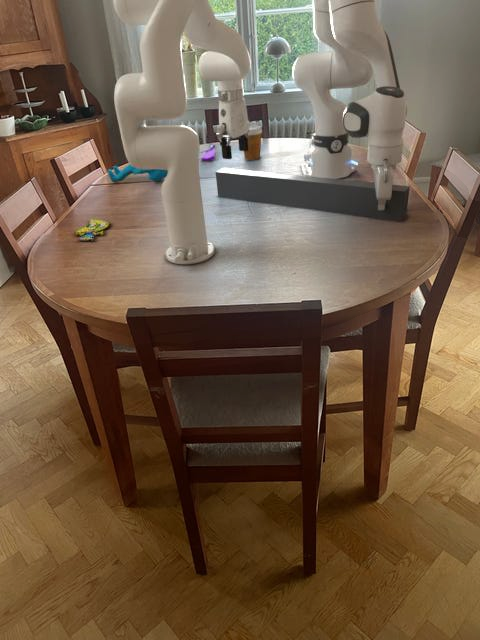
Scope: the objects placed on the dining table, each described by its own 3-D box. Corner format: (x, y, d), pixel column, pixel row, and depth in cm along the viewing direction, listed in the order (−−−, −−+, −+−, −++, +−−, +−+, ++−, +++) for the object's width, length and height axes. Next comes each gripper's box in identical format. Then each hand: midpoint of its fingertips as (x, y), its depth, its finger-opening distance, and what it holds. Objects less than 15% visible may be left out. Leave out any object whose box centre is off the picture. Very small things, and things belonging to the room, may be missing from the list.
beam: (218, 196, 162) (215, 171, 157) (225, 192, 165) (223, 167, 160) (401, 221, 132) (405, 191, 127) (406, 215, 135) (410, 186, 130)
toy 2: (118, 158, 191) (184, 137, 181) (129, 184, 196) (194, 165, 186) (99, 171, 177) (170, 149, 167) (111, 198, 182) (181, 178, 172)
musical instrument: (187, 168, 197) (231, 153, 201) (185, 163, 196) (230, 148, 200) (173, 159, 217) (213, 146, 221) (171, 155, 216) (212, 141, 220)
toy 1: (64, 237, 138) (89, 218, 150) (65, 240, 139) (90, 221, 151) (95, 238, 136) (118, 218, 148) (96, 241, 136) (119, 221, 148)
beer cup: (238, 160, 197) (235, 130, 191) (244, 154, 205) (242, 125, 198) (260, 160, 194) (258, 129, 188) (266, 154, 202) (264, 124, 195)
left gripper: (225, 101, 135) (230, 162, 145) (256, 91, 147) (259, 148, 156) (203, 101, 139) (210, 161, 148) (236, 91, 151) (240, 147, 160)
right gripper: (400, 165, 118) (394, 218, 126) (393, 144, 135) (389, 192, 143) (374, 166, 120) (370, 218, 127) (370, 145, 136) (367, 193, 144)
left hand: (235, 154), depth 152 cm, fingers open, 9 cm apart
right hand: (380, 204), depth 135 cm, fingers closed on beam, 5 cm apart
